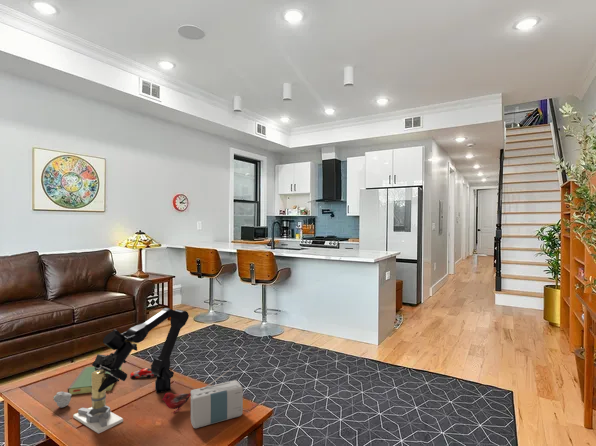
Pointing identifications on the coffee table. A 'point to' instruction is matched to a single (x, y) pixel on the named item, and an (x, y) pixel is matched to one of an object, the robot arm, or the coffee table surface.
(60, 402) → the grey rounded lump
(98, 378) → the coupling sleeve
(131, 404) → the coffee table surface
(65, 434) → the coffee table surface
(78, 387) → the hardcover book
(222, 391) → the stereo radio cassette player
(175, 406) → the decorative bird figurine
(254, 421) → the coffee table surface
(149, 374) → the race car
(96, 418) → the coupling stand
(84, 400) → the coffee table surface
